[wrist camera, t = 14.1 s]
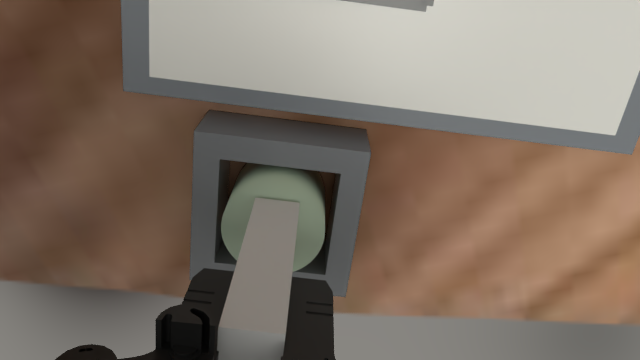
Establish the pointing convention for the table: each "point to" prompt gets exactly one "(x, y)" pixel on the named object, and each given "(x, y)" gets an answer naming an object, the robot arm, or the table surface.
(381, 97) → the picture board
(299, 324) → the robot arm
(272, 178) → the button
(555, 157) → the table surface
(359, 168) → the button housing
